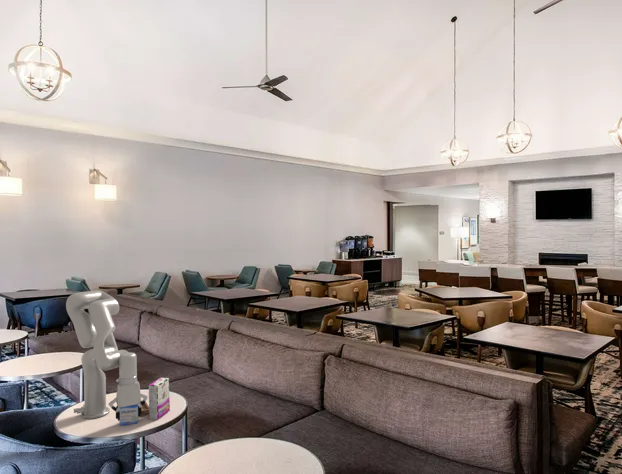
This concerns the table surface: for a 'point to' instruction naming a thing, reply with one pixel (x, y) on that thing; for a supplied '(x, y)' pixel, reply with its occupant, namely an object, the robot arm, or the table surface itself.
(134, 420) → the medicine box
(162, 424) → the table surface
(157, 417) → the candy bar box
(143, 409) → the walnut tray
